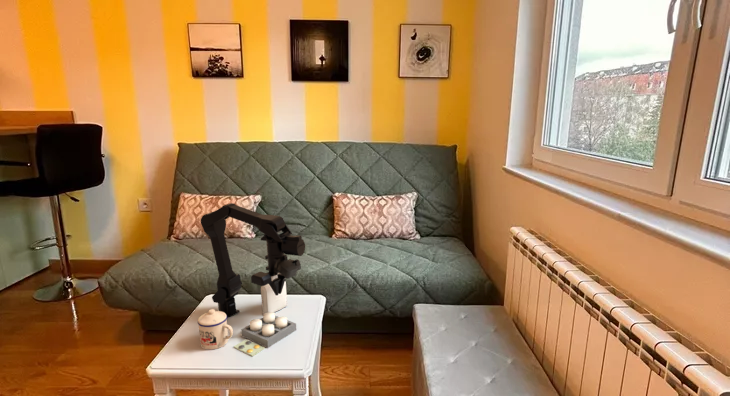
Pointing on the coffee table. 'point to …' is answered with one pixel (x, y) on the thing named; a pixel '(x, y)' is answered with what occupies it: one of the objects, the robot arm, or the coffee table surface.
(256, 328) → the button
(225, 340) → the teacup with lid
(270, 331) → the button
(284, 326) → the button
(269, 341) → the lights out board
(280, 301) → the photo printer
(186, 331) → the coffee table surface
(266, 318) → the button
